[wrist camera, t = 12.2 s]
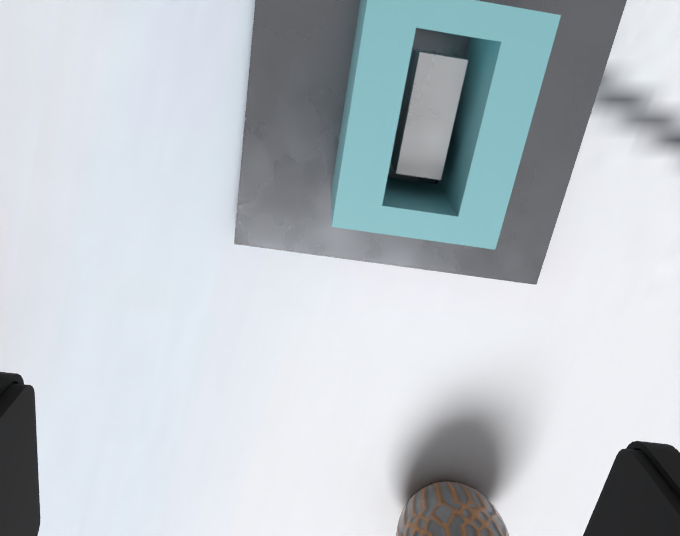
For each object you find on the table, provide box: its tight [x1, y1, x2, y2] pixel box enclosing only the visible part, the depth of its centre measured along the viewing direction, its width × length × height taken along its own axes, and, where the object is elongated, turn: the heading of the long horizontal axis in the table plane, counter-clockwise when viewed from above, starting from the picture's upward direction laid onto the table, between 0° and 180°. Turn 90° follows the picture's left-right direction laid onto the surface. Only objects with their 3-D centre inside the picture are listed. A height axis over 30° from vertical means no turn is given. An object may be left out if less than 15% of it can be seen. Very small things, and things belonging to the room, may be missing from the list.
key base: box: [234, 0, 627, 284], centre depth 26 cm, size 16×16×4 cm
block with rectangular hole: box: [331, 0, 561, 250], centre depth 25 cm, size 9×7×5 cm
